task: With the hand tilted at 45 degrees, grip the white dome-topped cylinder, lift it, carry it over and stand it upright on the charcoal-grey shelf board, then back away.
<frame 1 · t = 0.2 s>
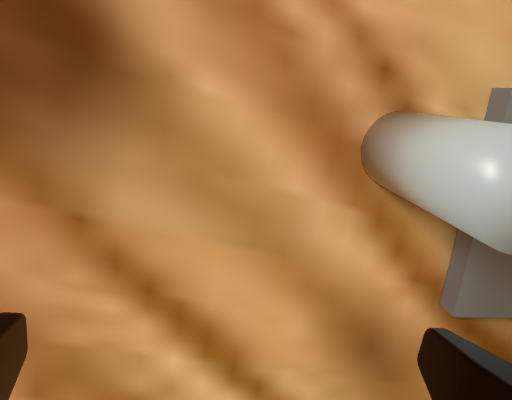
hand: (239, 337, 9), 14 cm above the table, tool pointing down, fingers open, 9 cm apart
white dome-topped cylinder: (397, 150, 23), on the table
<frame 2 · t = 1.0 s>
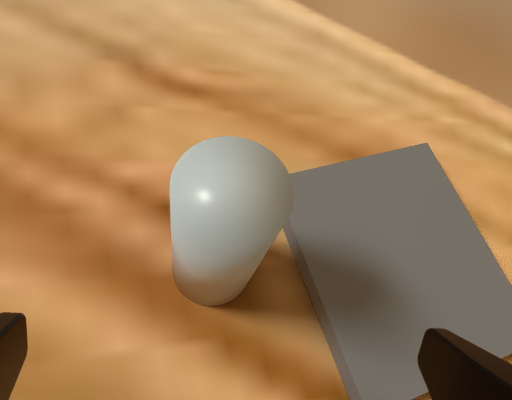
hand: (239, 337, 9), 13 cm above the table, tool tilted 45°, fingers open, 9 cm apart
shelf board: (391, 263, 25), on the table
white dome-topped cylinder: (211, 266, 23), on the table
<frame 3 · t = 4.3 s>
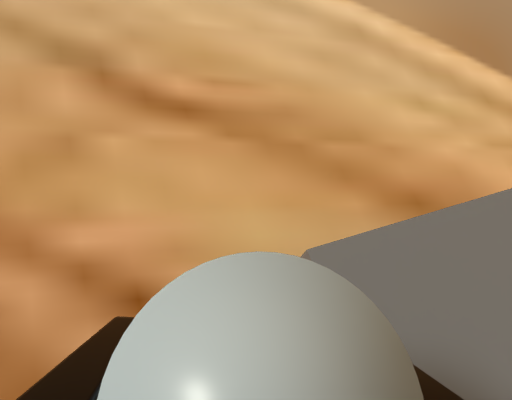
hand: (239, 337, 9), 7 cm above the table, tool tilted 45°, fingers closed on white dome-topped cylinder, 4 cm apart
shelf board: (491, 379, 16), on the table
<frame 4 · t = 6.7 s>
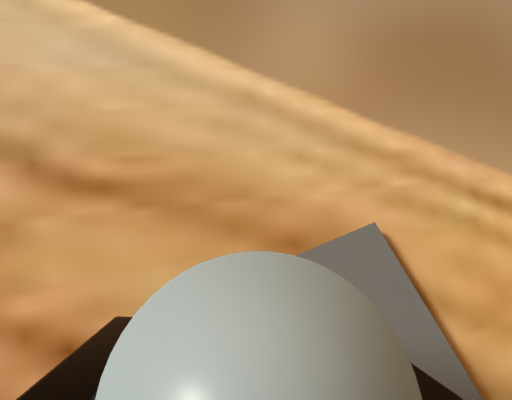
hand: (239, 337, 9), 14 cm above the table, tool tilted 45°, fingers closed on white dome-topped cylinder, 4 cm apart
shelf board: (343, 378, 22), on the table
when the fingers open (9 cm above the table, at t = 8.9 s): white dome-topped cylinder drops 1 cm, resting on shelf board.
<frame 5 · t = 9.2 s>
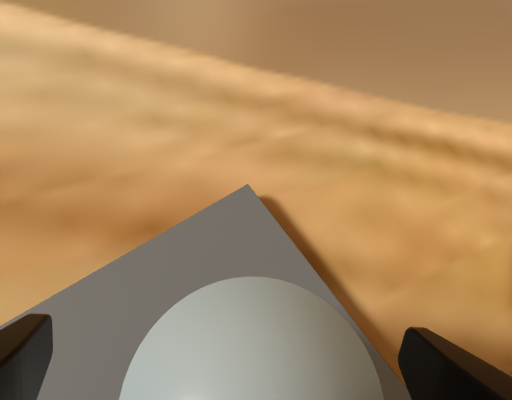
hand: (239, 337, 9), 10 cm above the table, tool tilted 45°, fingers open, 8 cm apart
shelf board: (226, 387, 17), on the table
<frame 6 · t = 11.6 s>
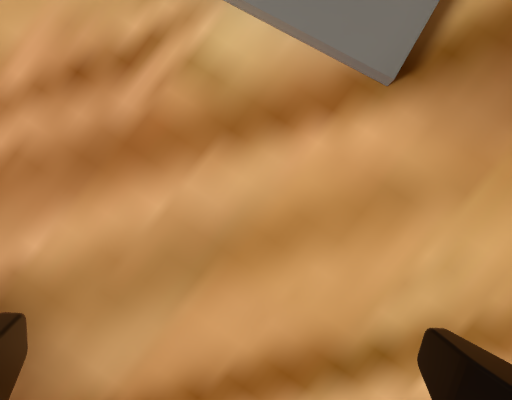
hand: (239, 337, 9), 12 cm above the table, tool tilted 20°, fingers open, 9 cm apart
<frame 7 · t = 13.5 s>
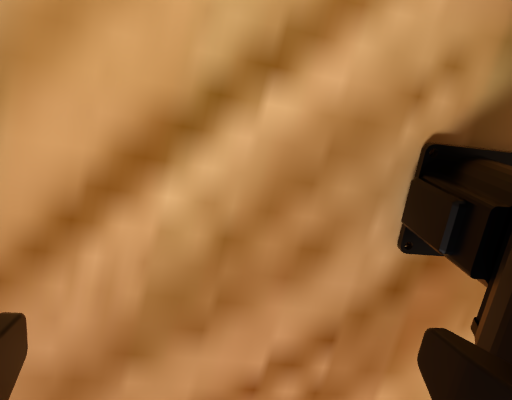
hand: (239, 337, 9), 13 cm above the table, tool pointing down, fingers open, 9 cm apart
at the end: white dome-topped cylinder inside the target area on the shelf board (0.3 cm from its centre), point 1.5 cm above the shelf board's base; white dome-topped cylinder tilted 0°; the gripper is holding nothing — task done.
